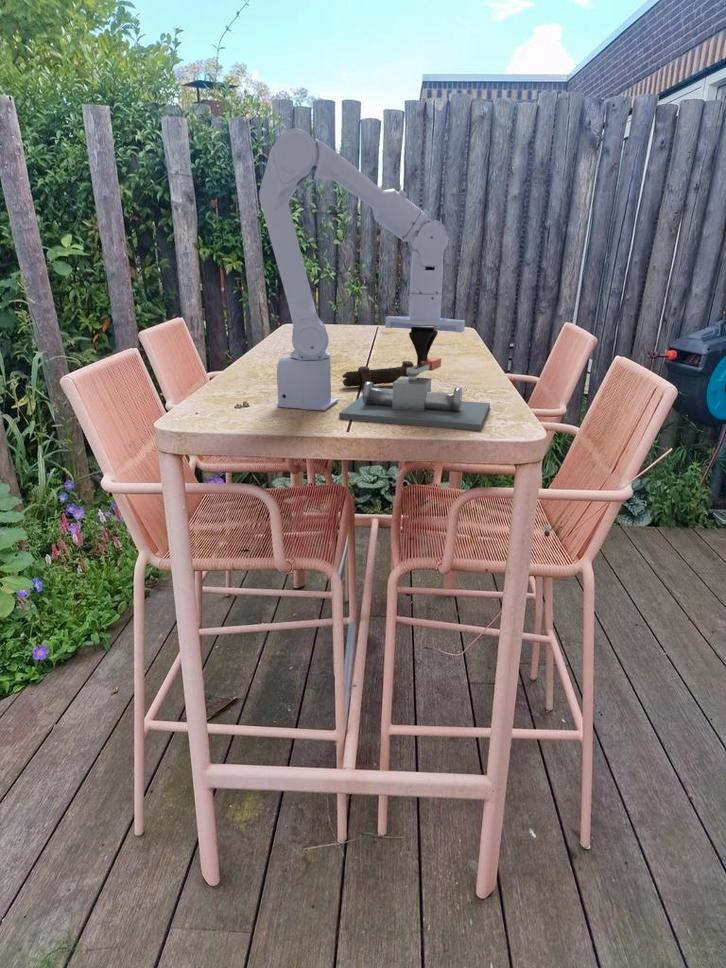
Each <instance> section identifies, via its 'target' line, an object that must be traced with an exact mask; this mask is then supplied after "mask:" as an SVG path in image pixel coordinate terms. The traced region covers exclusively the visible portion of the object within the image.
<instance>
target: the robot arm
mask: <svg viewBox="0 0 726 968" xmlns="http://www.w3.org/2000/svg"><path fill="white" fill-rule="evenodd" d="M313 172H314V179H315V180H326V181H327V180H331V181H333V182H334V183H336V184H338V185H339V186H340V187H342V188H343V189H344V190H345V191H347V192H349V193H351V194H352V195H353V196H355V197H356V198H357V199H359V200H360V201H361V202H364V203H365V204H366V205H368V207H371V209H372V214H373V219H374V221H376V223H379V225H381V226H383V227H384V228H385V229H386V230H388V231H389V232H390V233H392V234H393V235H394V236H396V237H397V238H399V239H400V240H401V241H402V242H407V243H408V246H409V248H410V250H411V264H410V271H409V273H410V275H409V297H408V298H409V301H408V302H409V304H408V316H399V315H398V316H394V315H393V316H392V315H389V316H385V318H384V319H385V322H384V323H385V325H384V326H385V329H392V328H395V329H408V330H410V329H411V330H410V332H408V335H409V338H410V340H411V342H412V345H413V348H414V350H415V353H416V357H417V359H416V361H417V362H416V365H418V364H420V363H421V361H422V360H424V359H427V358H429V357H428V354H429V352H430V350H431V347H432V345H433V344H434V341H435V339H436V338H437V336H438V334H439V333H438V331H439V332H453V333H454V332H455V333H458V334H459V333H460V334H461V333H463V332H465V330H466V329H465V327H466V325H465V324H466V320H464V319H463V320H462V319H453V318H452V319H451V318H443V317H441V316H442V315H441V313H442V298H443V297H442V295H443V282H444V281H443V279H444V265H443V264H444V263H443V262H444V251H445V250H446V248H447V247H448V244H449V242H450V237H449V236H448V231H447V229H446V226H445V225H444V224H443V223H442V222H441V221H440V220H437V219H434V218H431V219H430V218H429V215H430V211H428V210H427V209H423V210H422V209H421V208H420V207H418V206H417V205H416V204H415V203H413V202H412V201H410V200H409V199H408V198H407V196H408V193H407V192H406V191H405V190H404V189H401V190H399V191H398V190H396V189H395V188H389V189H385V190H383V189H382V188H380V186H378V185H377V184H376V183H374V182H373V181H372V180H371V179H369V178H368V177H367V176H366V175H365V174H364V173H363V172H361V171H360V170H359V169H357V168H356V167H355V166H354V165H353V164H351V163H350V161H348V160H347V159H345V158H344V157H343V156H342V155H341V154H339V153H338V152H336V151H335V149H333V148H331V147H330V146H329V145H327V144H325V143H324V142H323V141H321V140H319V139H317V138H315V140H314V139H313V137H312V136H311V135H310V134H309V133H308V132H306V131H305V130H303V129H300V128H290V129H287V130H285V131H284V132H283V133H282V134H281V135H280V136H279V137H278V139H277V140H276V141H275V143H274V145H273V146H272V147H271V149H270V151H269V154H268V158H267V163H266V167H265V170H264V174H263V177H262V180H261V181H262V182H261V183H260V184H261V185H260V188H259V191H258V197H259V198H258V199H259V204H260V206H261V210H262V212H263V213H262V214H263V217H264V221H265V225H266V228H267V232H268V235H269V236H268V237H269V239H270V243H271V247H272V250H273V253H274V257H275V261H276V265H277V268H278V271H279V275H280V276H279V277H280V279H281V283H282V287H283V290H284V294H285V298H286V301H287V305H288V309H289V313H290V318H291V323H292V326H293V327H292V335H291V342H292V346H293V349H294V350H292V351H291V352H290V355H282V356H281V357H280V358H279V360H278V362H277V367H276V385H277V388H276V389H277V403H276V407H278V408H288V409H299V410H302V409H303V410H313V411H326V410H327V409H329V408H330V407H332V406H333V405H335V404H337V402H339V398H338V397H337V398H336V397H332V383H331V380H332V379H331V378H332V377H331V369H332V368H331V367H332V366H331V353H330V352H328V351H327V348H328V346H329V341H330V340H329V334H328V332H327V328H326V326H325V324H324V322H323V321H322V320H321V319H320V317H319V315H318V314H317V310H316V309H317V308H316V306H315V302H314V298H313V294H312V291H311V290H312V289H311V285H310V283H309V279H308V274H307V271H306V268H305V263H304V260H303V259H304V258H303V256H302V252H301V248H300V244H299V240H298V236H297V232H296V228H295V224H294V220H293V216H292V212H291V209H290V201H291V200H292V197H293V196H294V194H295V192H296V191H297V190H298V187H299V186H300V185H301V184H302V183H303V182H304V181H306V179H307V178H309V177H310V175H311V174H312V173H313Z"/></svg>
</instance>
